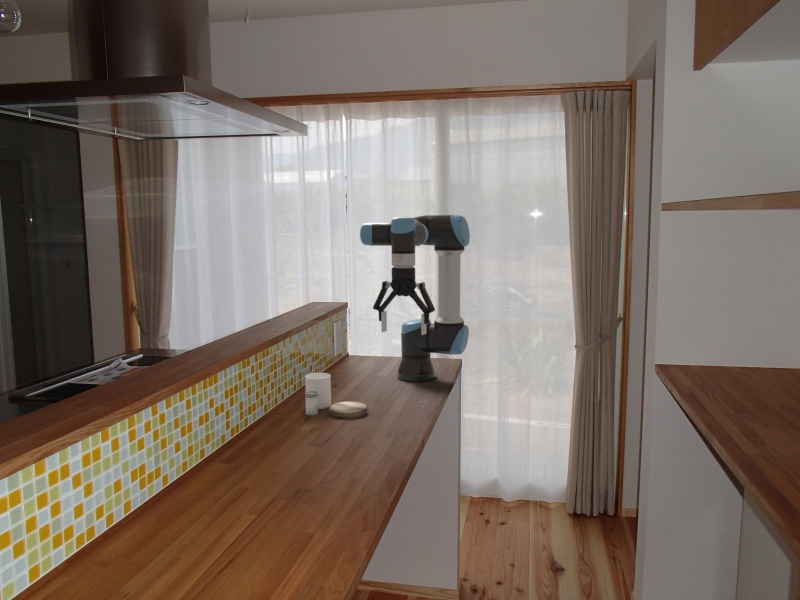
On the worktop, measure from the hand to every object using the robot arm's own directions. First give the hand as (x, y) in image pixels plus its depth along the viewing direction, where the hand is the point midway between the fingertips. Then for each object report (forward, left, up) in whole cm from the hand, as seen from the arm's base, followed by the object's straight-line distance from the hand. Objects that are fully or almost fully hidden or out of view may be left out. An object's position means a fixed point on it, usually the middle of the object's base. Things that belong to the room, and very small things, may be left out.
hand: (403, 332), depth 210 cm
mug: (-3, -32, -28) cm, 43 cm away
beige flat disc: (+2, -19, -28) cm, 34 cm away
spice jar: (+7, -30, -28) cm, 42 cm away
